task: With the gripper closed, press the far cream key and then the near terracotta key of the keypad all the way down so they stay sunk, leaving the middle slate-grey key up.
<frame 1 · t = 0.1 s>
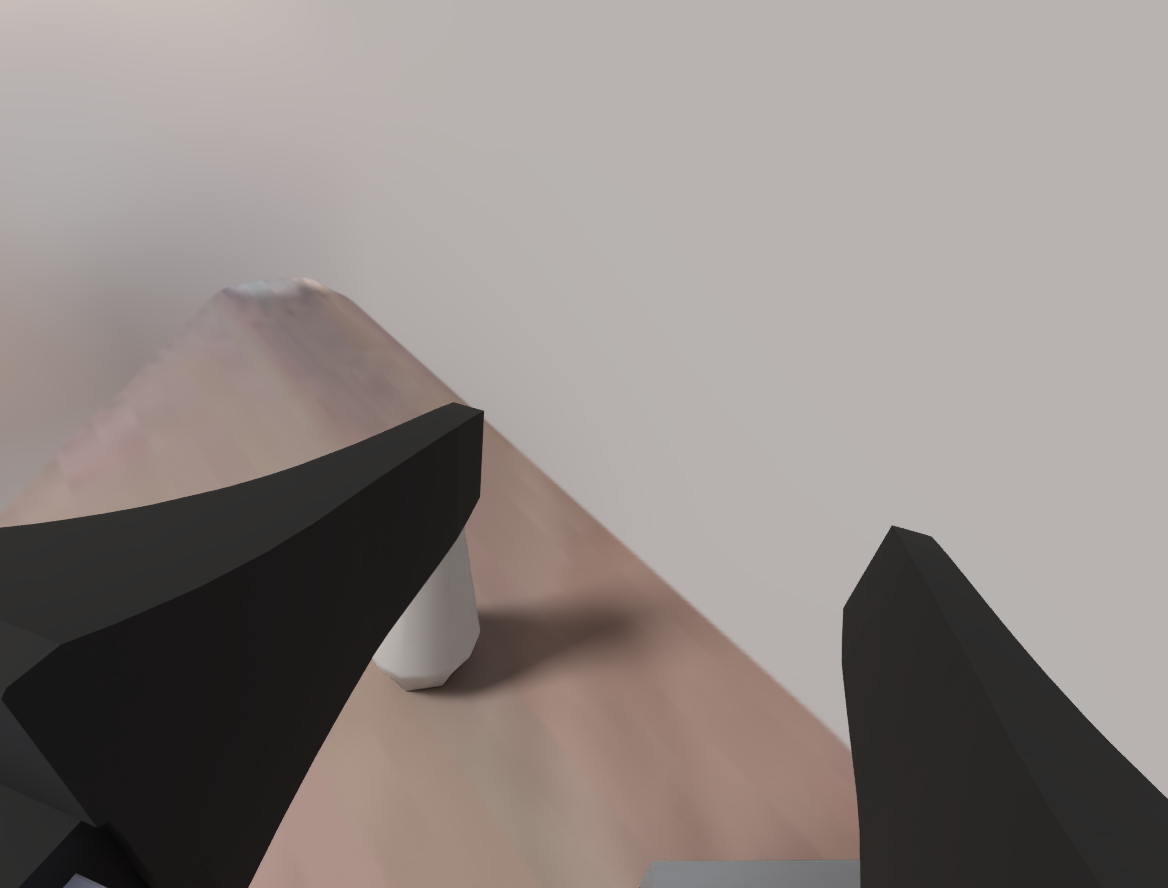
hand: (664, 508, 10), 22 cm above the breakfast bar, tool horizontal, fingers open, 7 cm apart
salt shaker: (422, 661, 32), on the breakfast bar
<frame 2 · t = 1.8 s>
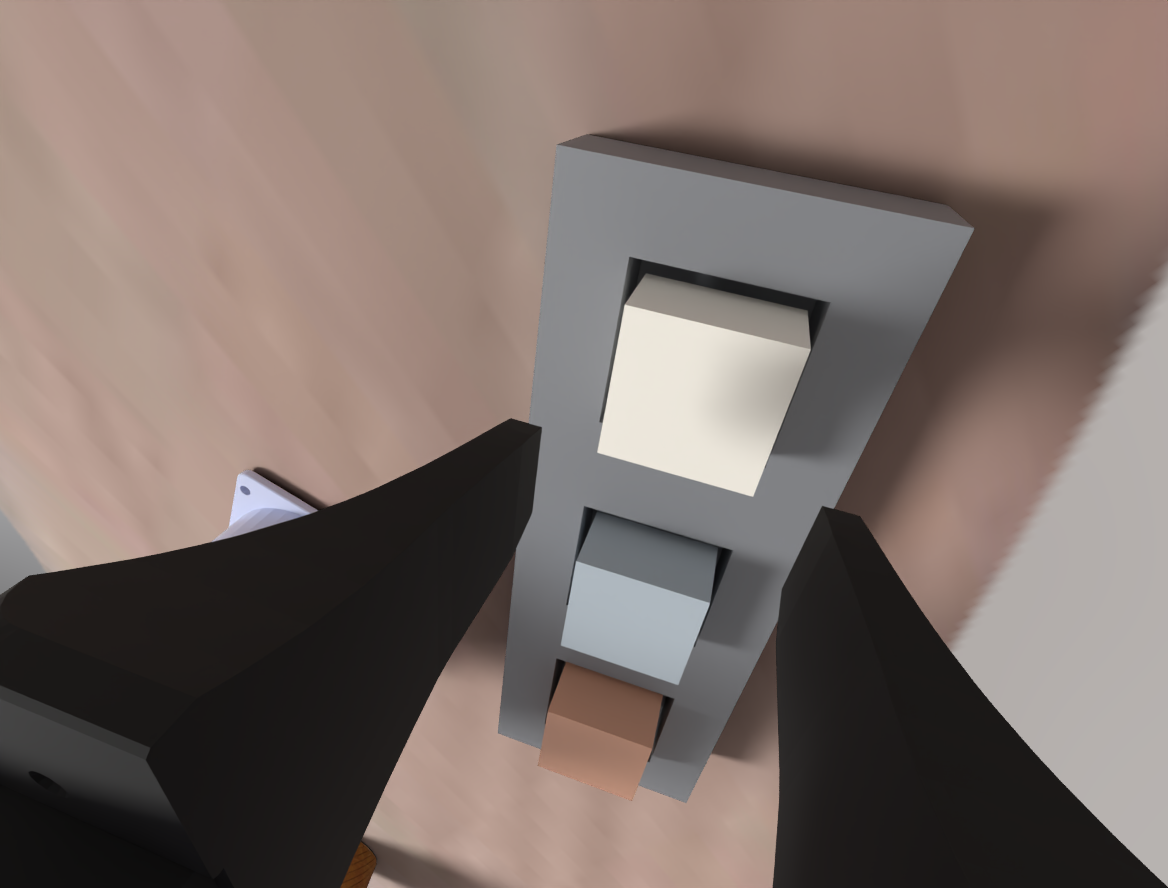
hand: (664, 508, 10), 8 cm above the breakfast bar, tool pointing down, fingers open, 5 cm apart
cream key: (698, 383, 15), point 3 cm above the breakfast bar, slide at 0.0 cm
key panel: (655, 532, 22), on the breakfast bar
terracotta key: (599, 729, 24), point 3 cm above the breakfast bar, slide at 0.0 cm
slate key: (637, 597, 19), point 3 cm above the breakfast bar, slide at 0.0 cm
disposable coffee cup: (344, 842, 49), on the breakfast bar
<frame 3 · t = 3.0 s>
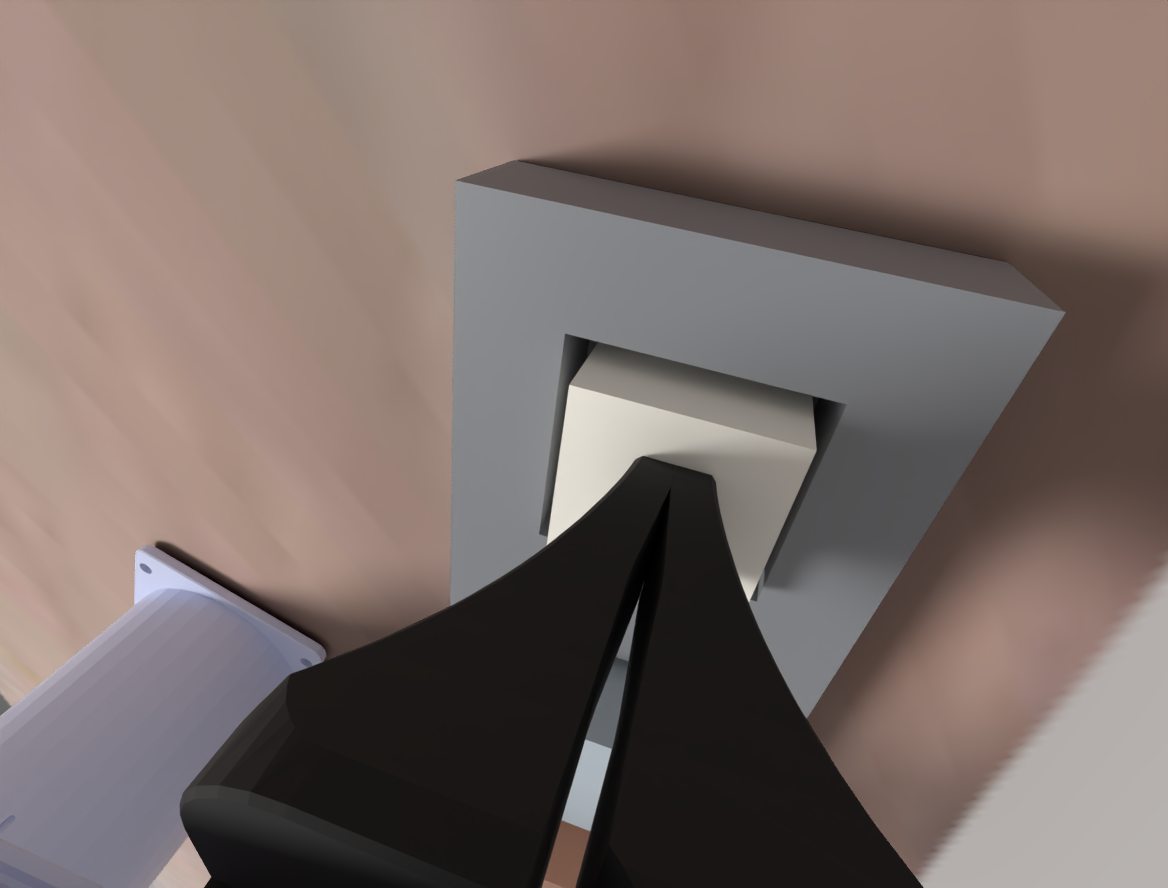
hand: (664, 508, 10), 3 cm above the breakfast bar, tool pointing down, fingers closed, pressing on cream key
cream key: (672, 473, 11), point 2 cm above the breakfast bar, slide at 1.1 cm, touching gripper
key panel: (624, 639, 18), on the breakfast bar
terracotta key: (559, 867, 20), point 3 cm above the breakfast bar, slide at 0.0 cm
slate key: (596, 740, 15), point 3 cm above the breakfast bar, slide at 0.0 cm
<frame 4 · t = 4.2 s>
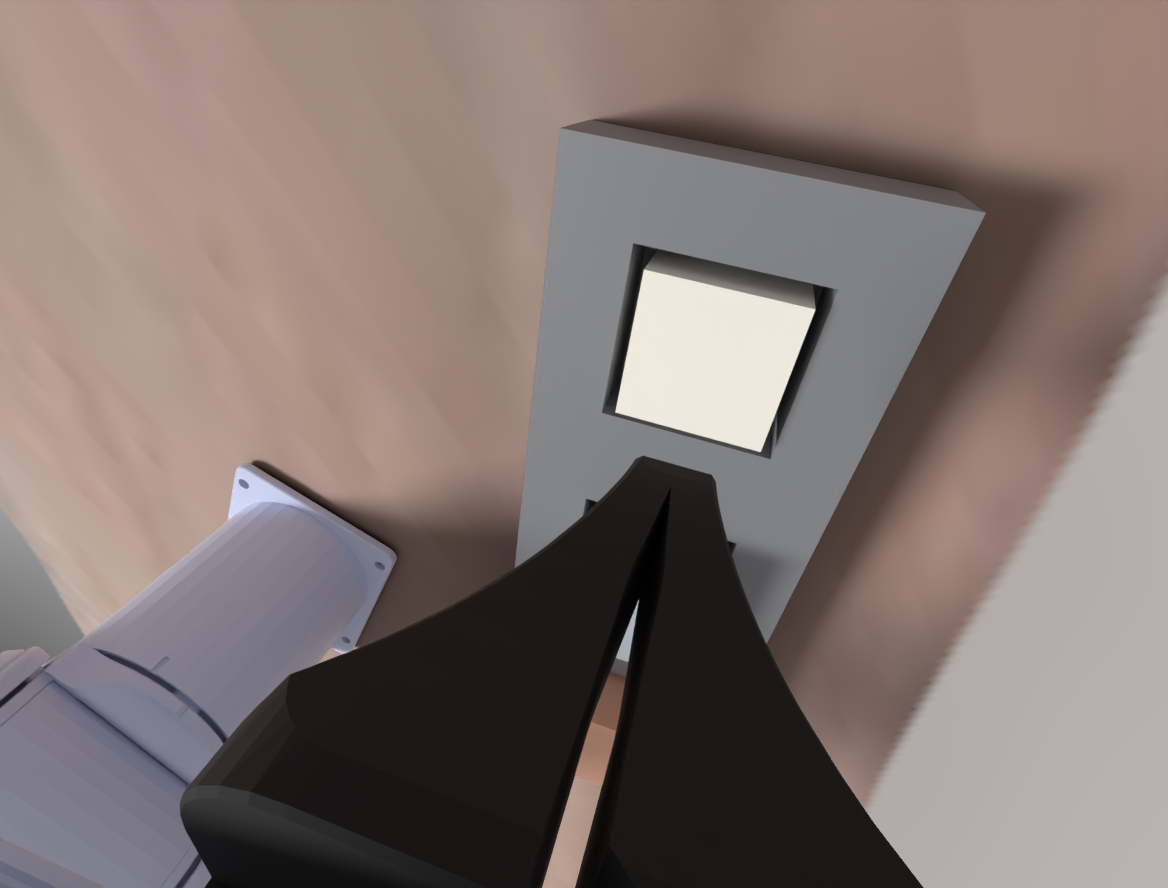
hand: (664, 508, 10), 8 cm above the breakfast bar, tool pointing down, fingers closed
cream key: (710, 347, 16), point 2 cm above the breakfast bar, slide at 1.6 cm
key panel: (658, 526, 22), on the breakfast bar
terracotta key: (600, 725, 23), point 3 cm above the breakfast bar, slide at 0.0 cm
slate key: (639, 591, 19), point 3 cm above the breakfast bar, slide at 0.0 cm
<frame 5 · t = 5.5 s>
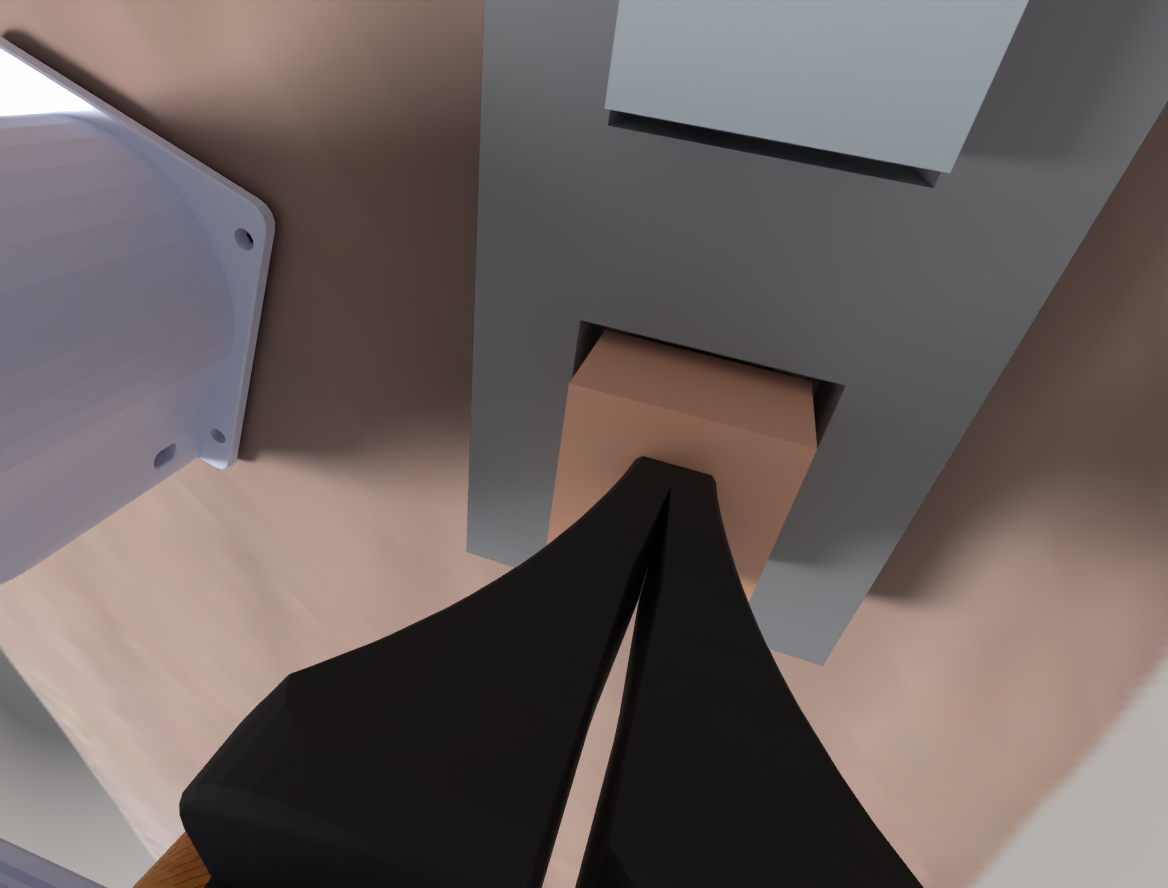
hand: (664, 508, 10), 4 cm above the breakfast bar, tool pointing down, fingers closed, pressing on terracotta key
terracotta key: (672, 472, 11), point 3 cm above the breakfast bar, slide at 0.3 cm, touching gripper
disposable coffee cup: (278, 805, 36), on the breakfast bar
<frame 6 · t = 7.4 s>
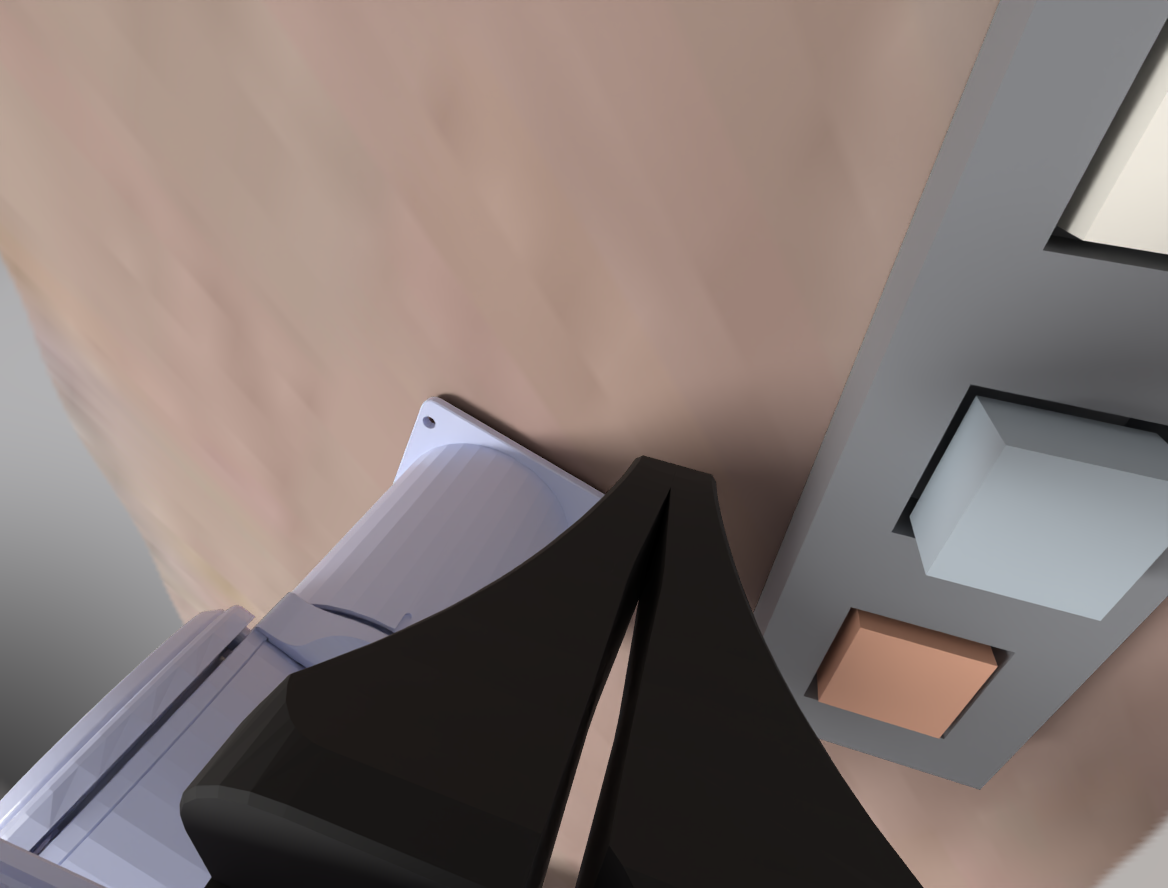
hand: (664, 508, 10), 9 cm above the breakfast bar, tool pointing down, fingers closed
key panel: (997, 438, 17), on the breakfast bar
terracotta key: (895, 655, 20), point 2 cm above the breakfast bar, slide at 1.6 cm
slate key: (1037, 506, 14), point 3 cm above the breakfast bar, slide at 0.0 cm
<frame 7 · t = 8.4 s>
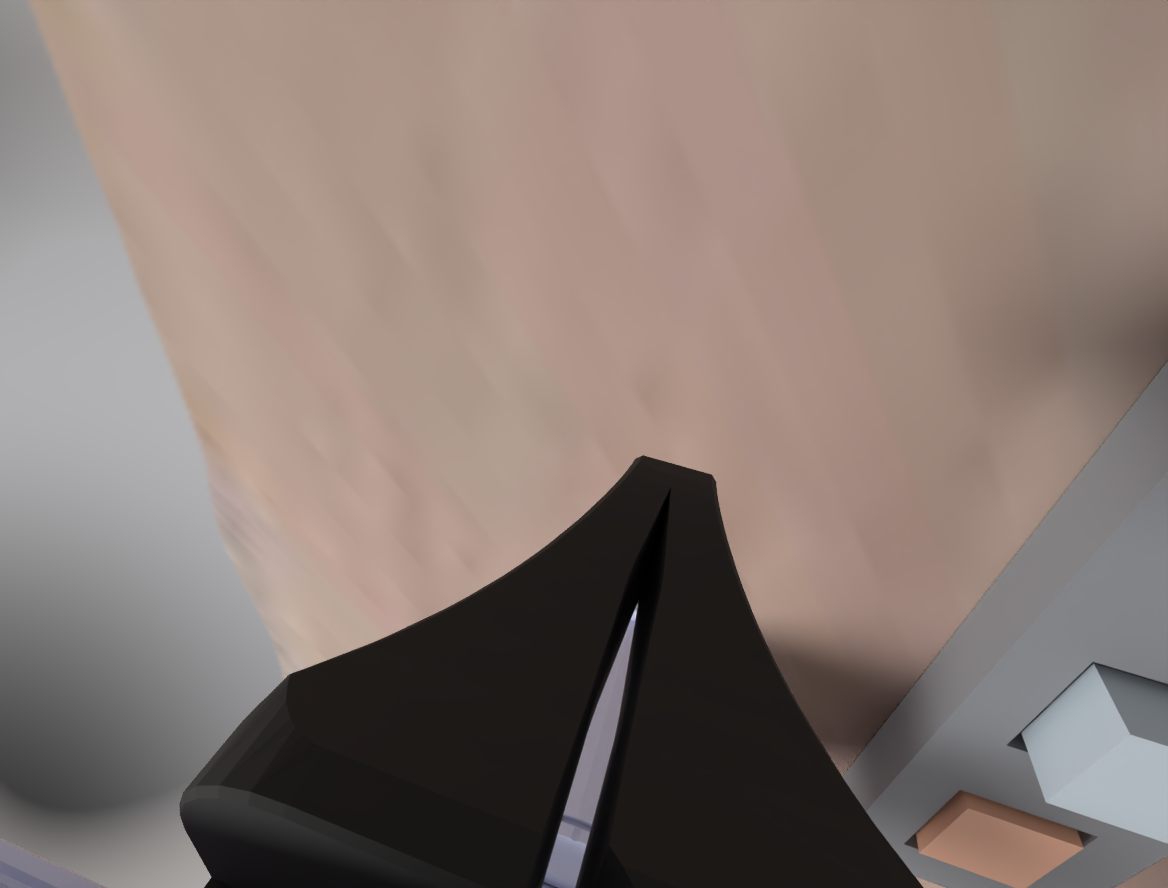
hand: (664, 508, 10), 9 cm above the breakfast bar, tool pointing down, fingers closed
key panel: (1094, 667, 21), on the breakfast bar
terracotta key: (987, 818, 24), point 2 cm above the breakfast bar, slide at 1.6 cm
slate key: (1140, 755, 18), point 3 cm above the breakfast bar, slide at 0.0 cm
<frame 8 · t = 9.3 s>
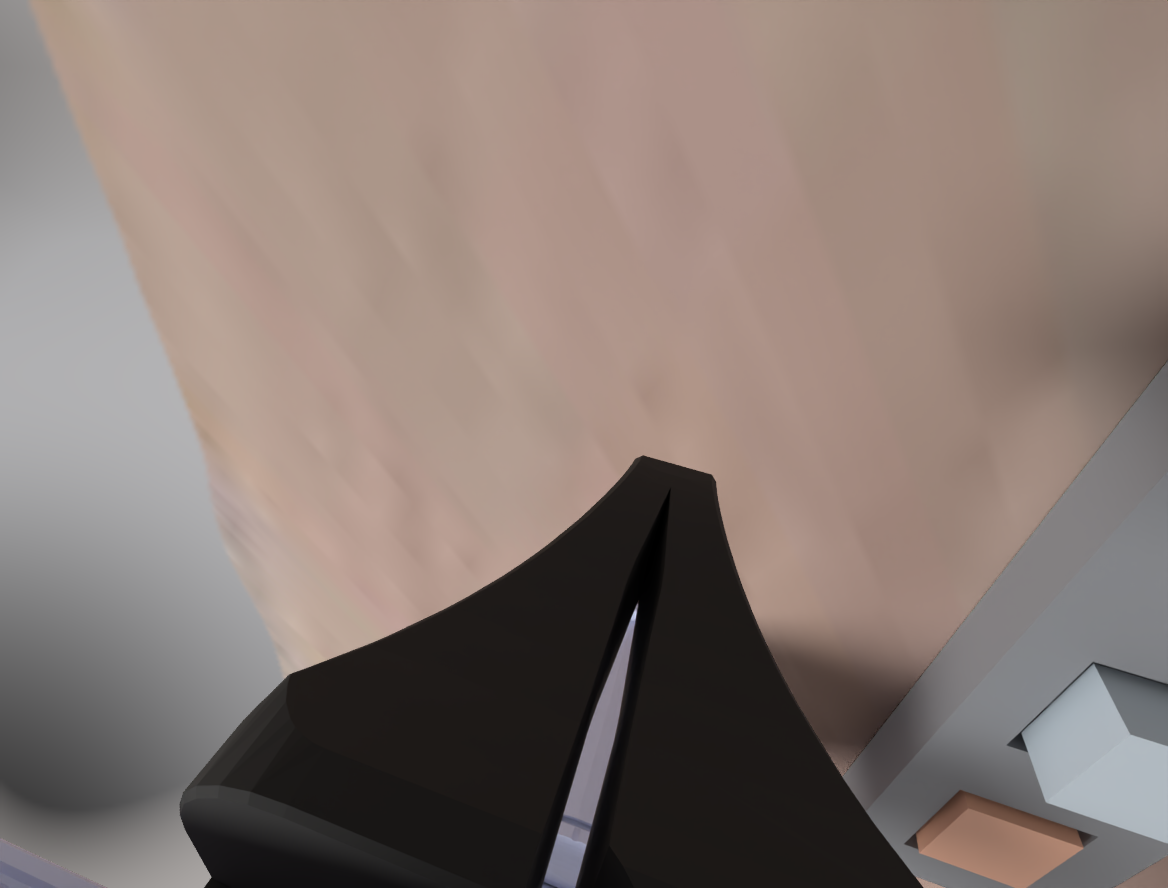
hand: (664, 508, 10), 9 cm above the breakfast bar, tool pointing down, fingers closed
key panel: (1094, 667, 21), on the breakfast bar
terracotta key: (987, 818, 24), point 2 cm above the breakfast bar, slide at 1.6 cm
slate key: (1140, 755, 18), point 3 cm above the breakfast bar, slide at 0.0 cm
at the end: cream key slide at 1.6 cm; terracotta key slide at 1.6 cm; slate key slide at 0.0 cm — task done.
